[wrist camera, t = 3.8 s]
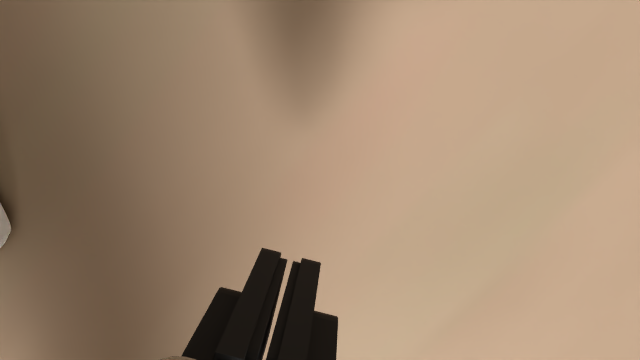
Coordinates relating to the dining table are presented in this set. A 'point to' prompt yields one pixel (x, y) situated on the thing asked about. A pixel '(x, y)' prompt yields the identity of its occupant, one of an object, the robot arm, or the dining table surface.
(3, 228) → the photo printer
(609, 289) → the dining table surface
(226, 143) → the dining table surface
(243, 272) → the dining table surface
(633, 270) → the dining table surface
